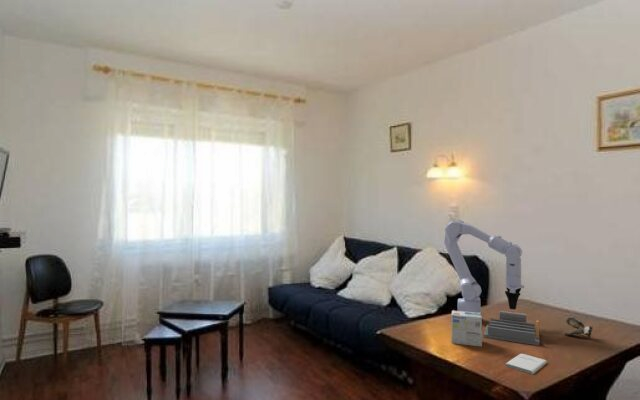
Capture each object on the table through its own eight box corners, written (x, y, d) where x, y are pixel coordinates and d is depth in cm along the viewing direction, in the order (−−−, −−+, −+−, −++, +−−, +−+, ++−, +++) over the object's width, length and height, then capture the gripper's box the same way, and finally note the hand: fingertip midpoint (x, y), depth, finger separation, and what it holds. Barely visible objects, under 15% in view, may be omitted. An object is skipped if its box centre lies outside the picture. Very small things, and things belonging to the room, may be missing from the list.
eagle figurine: (591, 332, 160) (565, 323, 165) (594, 320, 156) (568, 311, 161) (588, 346, 155) (561, 337, 160) (591, 334, 151) (564, 325, 156)
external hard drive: (505, 368, 129) (520, 357, 138) (532, 376, 123) (546, 364, 132) (505, 363, 129) (520, 352, 138) (532, 371, 123) (546, 359, 132)
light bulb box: (481, 341, 152) (481, 312, 152) (482, 347, 146) (482, 317, 146) (451, 337, 156) (451, 309, 156) (451, 343, 149) (451, 314, 149)
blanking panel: (499, 325, 170) (499, 311, 170) (499, 324, 172) (499, 310, 172) (526, 329, 166) (526, 315, 166) (526, 328, 167) (526, 314, 167)
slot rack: (483, 337, 156) (483, 318, 156) (487, 326, 169) (487, 310, 169) (539, 345, 147) (539, 326, 147) (538, 334, 160) (539, 316, 160)
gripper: (523, 278, 160) (523, 312, 160) (524, 272, 173) (524, 304, 173) (504, 276, 164) (503, 310, 164) (506, 270, 176) (506, 301, 177)
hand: (513, 306), depth 169 cm, fingers open, 7 cm apart
